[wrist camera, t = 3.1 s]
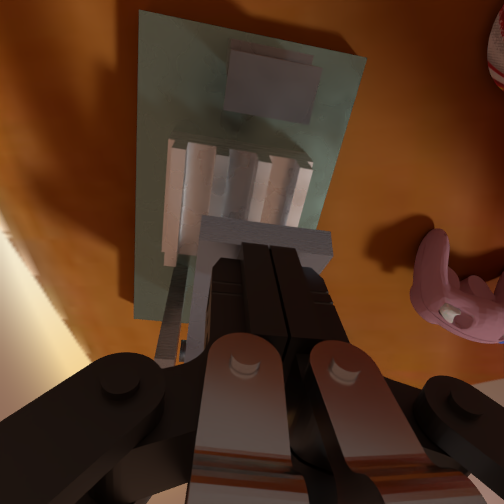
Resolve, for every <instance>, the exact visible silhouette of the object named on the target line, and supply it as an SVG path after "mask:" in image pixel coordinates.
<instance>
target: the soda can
mask: <svg viewBox="0 0 504 504" xmlns="http://www.w3.org/2000/svg"><path fill="white" fill-rule="evenodd" d="M487 60H488V68H489V71H490V74H491V77H492V79H493V80H494V82H495V83H496V85H497V86H498V87H499V88H500V89H501V90H503V91H504V4H503V6H502V8H501V9H500V11H499V13H498V15H497V17H496V20H495V22H494V24H493V27H492V30H491V33H490V37H489V42H488V49H487Z"/></svg>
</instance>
